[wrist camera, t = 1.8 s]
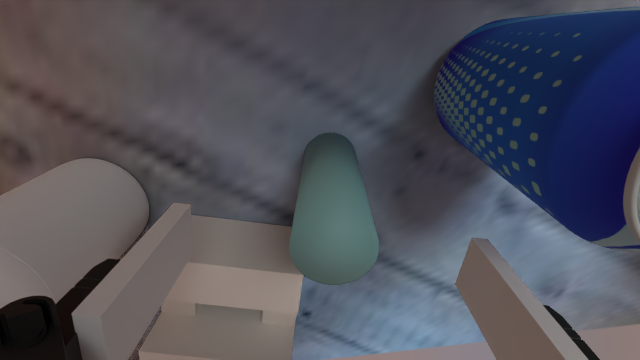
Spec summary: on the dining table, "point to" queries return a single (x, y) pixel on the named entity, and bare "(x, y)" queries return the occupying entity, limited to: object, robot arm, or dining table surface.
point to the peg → (332, 215)
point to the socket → (230, 296)
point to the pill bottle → (66, 227)
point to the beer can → (555, 114)
